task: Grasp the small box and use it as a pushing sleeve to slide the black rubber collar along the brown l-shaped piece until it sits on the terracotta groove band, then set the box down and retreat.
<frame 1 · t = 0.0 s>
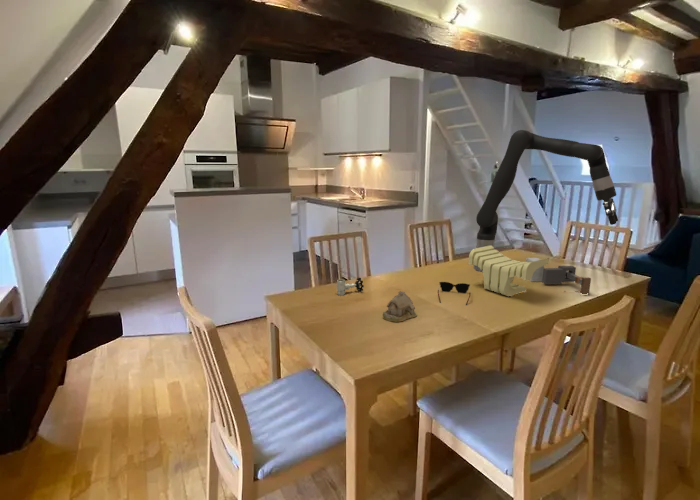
hand: (614, 222, 177), 31 cm above the table, tool tilted 20°, fingers open, 8 cm apart
valve: (348, 293, 183), on the table
sunglasses: (453, 299, 175), on the table
small box: (533, 279, 200), on the table
ceramic model: (399, 316, 156), on the table
collar: (558, 274, 190), point 5 cm above the table, slide at -5.0 cm
slatted curved stool: (504, 291, 184), on the table
brown l-shaped piece: (571, 288, 187), on the table
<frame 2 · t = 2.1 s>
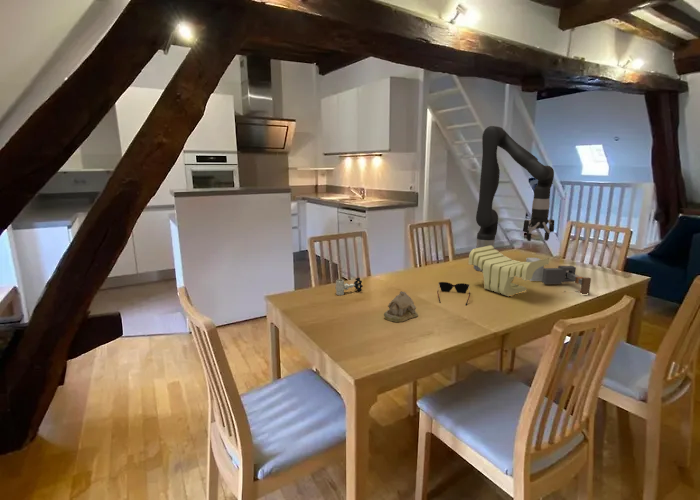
hand: (537, 240, 195), 20 cm above the table, tool pointing down, fingers open, 8 cm apart
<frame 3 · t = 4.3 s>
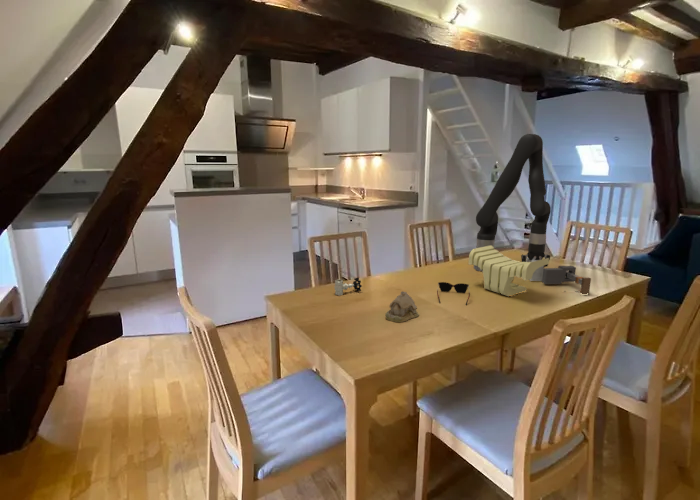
hand: (533, 274, 200), 3 cm above the table, tool pointing down, fingers closed on small box, 5 cm apart
small box: (533, 279, 200), on the table, touching gripper
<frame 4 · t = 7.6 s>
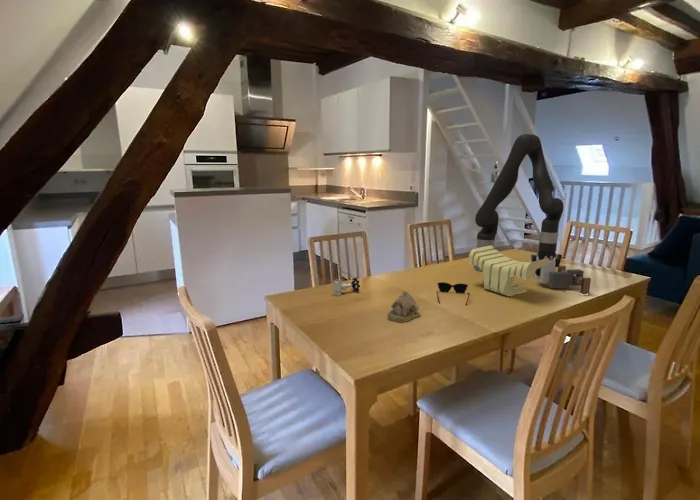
hand: (544, 275, 190), 5 cm above the table, tool pointing down, fingers closed on small box, 5 cm apart
small box: (543, 280, 190), point 2 cm above the table, touching collar, gripper
collar: (565, 278, 184), point 5 cm above the table, slide at 1.1 cm, touching small box
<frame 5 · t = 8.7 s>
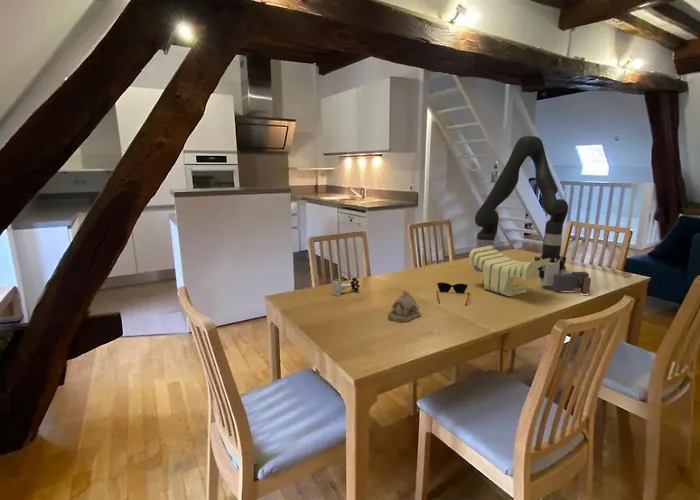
hand: (548, 278, 186), 5 cm above the table, tool pointing down, fingers closed on small box, 5 cm apart
small box: (547, 283, 187), point 2 cm above the table, touching gripper
collar: (570, 281, 181), point 5 cm above the table, slide at 4.9 cm
when the fingers open (4 cm above the table, at t = 10.5 s): small box drops 1 cm, on the table.
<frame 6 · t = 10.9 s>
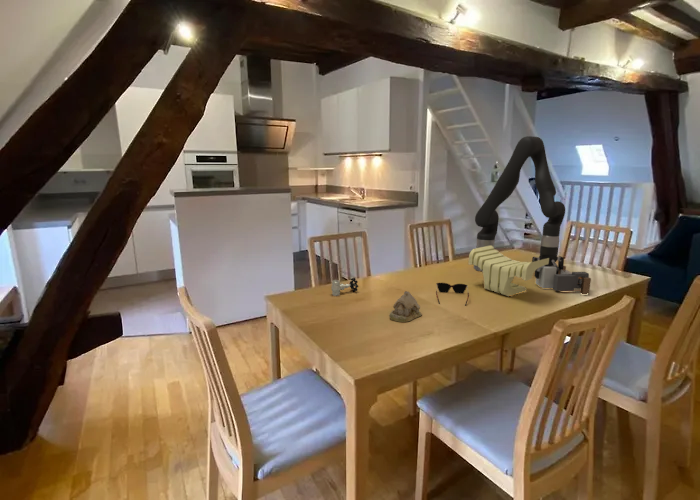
hand: (545, 278, 188), 4 cm above the table, tool pointing down, fingers open, 8 cm apart
small box: (544, 287, 189), on the table
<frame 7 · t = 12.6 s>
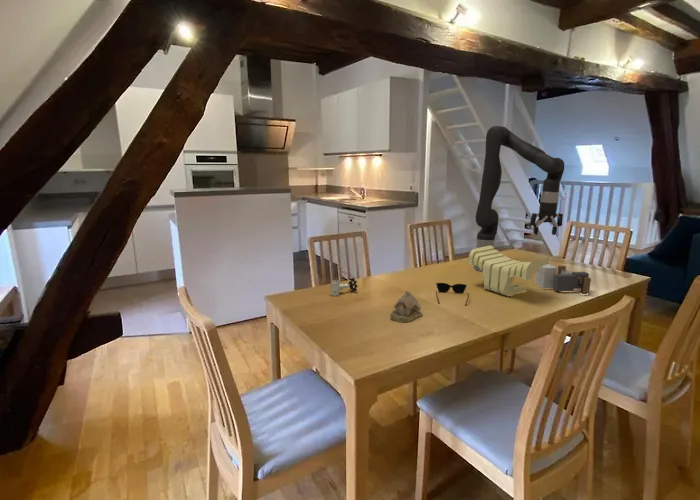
hand: (544, 234, 192), 24 cm above the table, tool pointing down, fingers open, 8 cm apart
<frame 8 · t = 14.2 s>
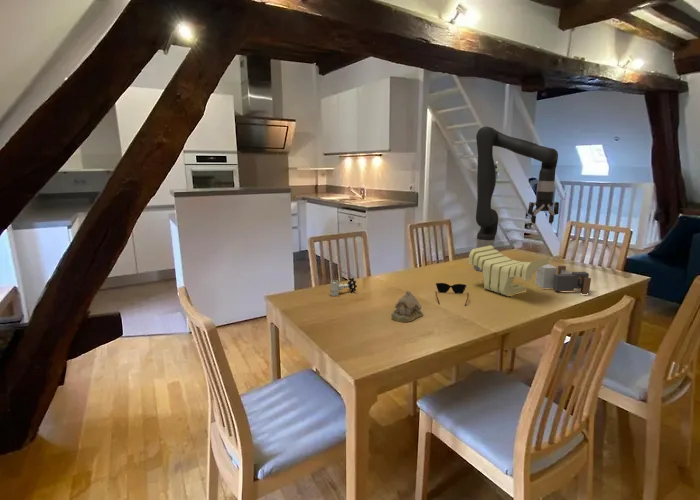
hand: (542, 223, 198), 28 cm above the table, tool pointing down, fingers open, 8 cm apart
at the end: collar slide at 4.9 cm; the gripper is holding nothing; small box inside the target area (0.1 cm from its centre), on the table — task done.
